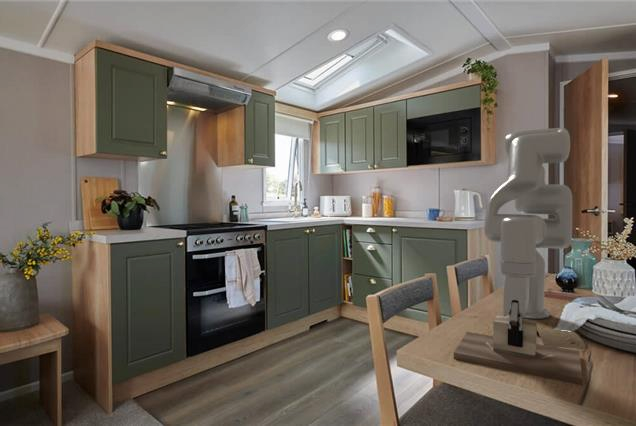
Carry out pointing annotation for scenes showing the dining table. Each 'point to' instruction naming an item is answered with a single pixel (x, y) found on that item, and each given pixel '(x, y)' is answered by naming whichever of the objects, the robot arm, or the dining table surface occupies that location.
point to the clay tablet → (561, 338)
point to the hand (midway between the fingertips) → (516, 340)
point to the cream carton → (502, 337)
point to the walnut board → (522, 359)
